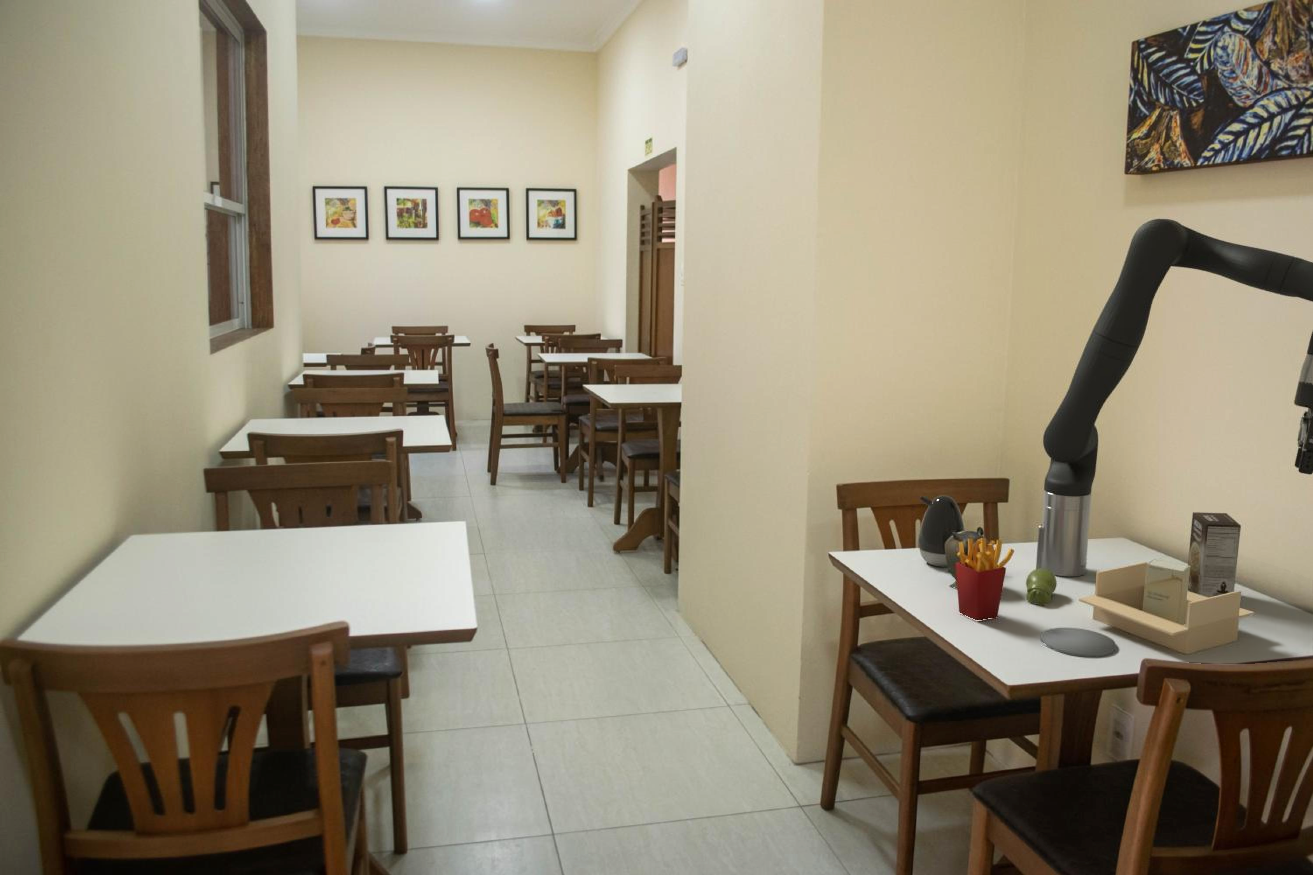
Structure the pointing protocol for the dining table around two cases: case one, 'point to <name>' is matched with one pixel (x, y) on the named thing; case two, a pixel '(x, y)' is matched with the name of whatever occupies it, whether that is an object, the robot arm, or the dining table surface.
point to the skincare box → (1166, 590)
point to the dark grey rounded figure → (938, 528)
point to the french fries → (980, 579)
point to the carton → (1203, 618)
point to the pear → (1040, 586)
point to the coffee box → (1213, 554)
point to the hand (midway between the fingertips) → (1303, 470)
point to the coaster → (1078, 642)
